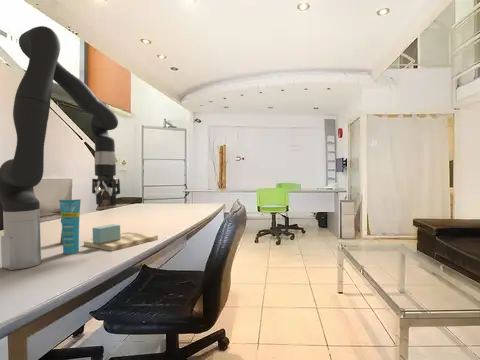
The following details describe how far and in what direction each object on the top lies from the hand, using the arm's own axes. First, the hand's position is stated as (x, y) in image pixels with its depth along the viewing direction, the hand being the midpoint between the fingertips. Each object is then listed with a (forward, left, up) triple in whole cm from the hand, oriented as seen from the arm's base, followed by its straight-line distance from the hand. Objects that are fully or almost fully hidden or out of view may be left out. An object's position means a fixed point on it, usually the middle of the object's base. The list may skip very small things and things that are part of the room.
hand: (106, 205), depth 118 cm
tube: (-13, +2, -16) cm, 21 cm away
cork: (-4, +20, -16) cm, 26 cm away
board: (+7, 0, -16) cm, 18 cm away
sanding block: (0, 0, -14) cm, 14 cm away
